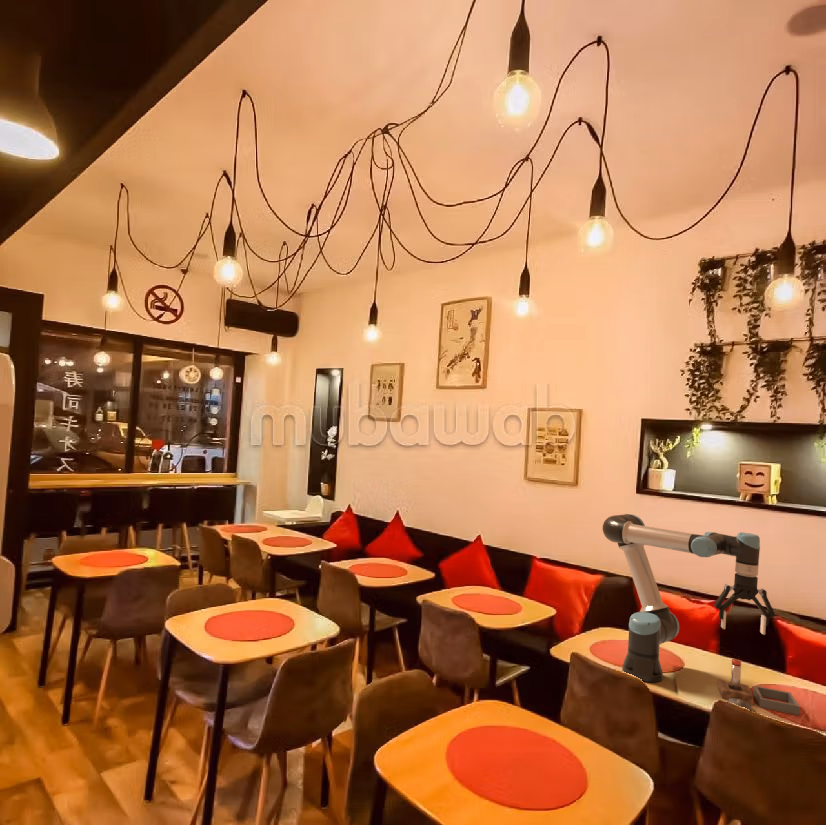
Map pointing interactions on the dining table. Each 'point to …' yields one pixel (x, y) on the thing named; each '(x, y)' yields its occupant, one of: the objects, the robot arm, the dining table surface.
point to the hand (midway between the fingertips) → (742, 630)
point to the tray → (788, 707)
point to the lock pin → (735, 674)
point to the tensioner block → (736, 694)
